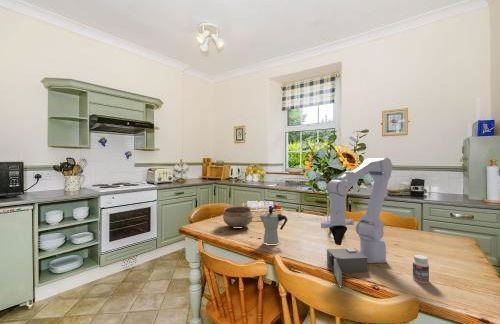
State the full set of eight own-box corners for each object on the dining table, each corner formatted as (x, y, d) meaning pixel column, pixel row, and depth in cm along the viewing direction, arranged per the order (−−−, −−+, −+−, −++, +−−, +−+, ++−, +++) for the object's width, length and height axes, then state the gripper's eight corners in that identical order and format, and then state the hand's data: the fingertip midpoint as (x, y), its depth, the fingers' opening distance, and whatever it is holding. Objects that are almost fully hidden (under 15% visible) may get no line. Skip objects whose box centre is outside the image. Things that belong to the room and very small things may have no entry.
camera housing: (354, 260, 103) (354, 246, 103) (367, 271, 93) (367, 256, 93) (324, 261, 103) (324, 247, 103) (334, 272, 93) (334, 257, 93)
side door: (342, 287, 81) (341, 272, 81) (339, 287, 81) (339, 272, 81) (336, 272, 93) (335, 258, 93) (333, 271, 93) (333, 258, 93)
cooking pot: (213, 227, 158) (213, 208, 158) (233, 221, 173) (233, 204, 173) (242, 234, 142) (242, 213, 142) (262, 227, 157) (262, 208, 157)
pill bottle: (414, 282, 85) (414, 258, 85) (411, 276, 89) (411, 253, 89) (431, 284, 83) (430, 260, 83) (426, 278, 88) (426, 255, 88)
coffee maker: (258, 245, 123) (257, 210, 123) (259, 240, 132) (259, 206, 132) (288, 246, 121) (287, 210, 121) (287, 240, 130) (287, 207, 130)
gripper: (328, 213, 91) (329, 250, 91) (359, 210, 95) (360, 245, 96) (317, 210, 97) (318, 244, 97) (347, 207, 102) (347, 239, 102)
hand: (338, 244), depth 97 cm, fingers closed
